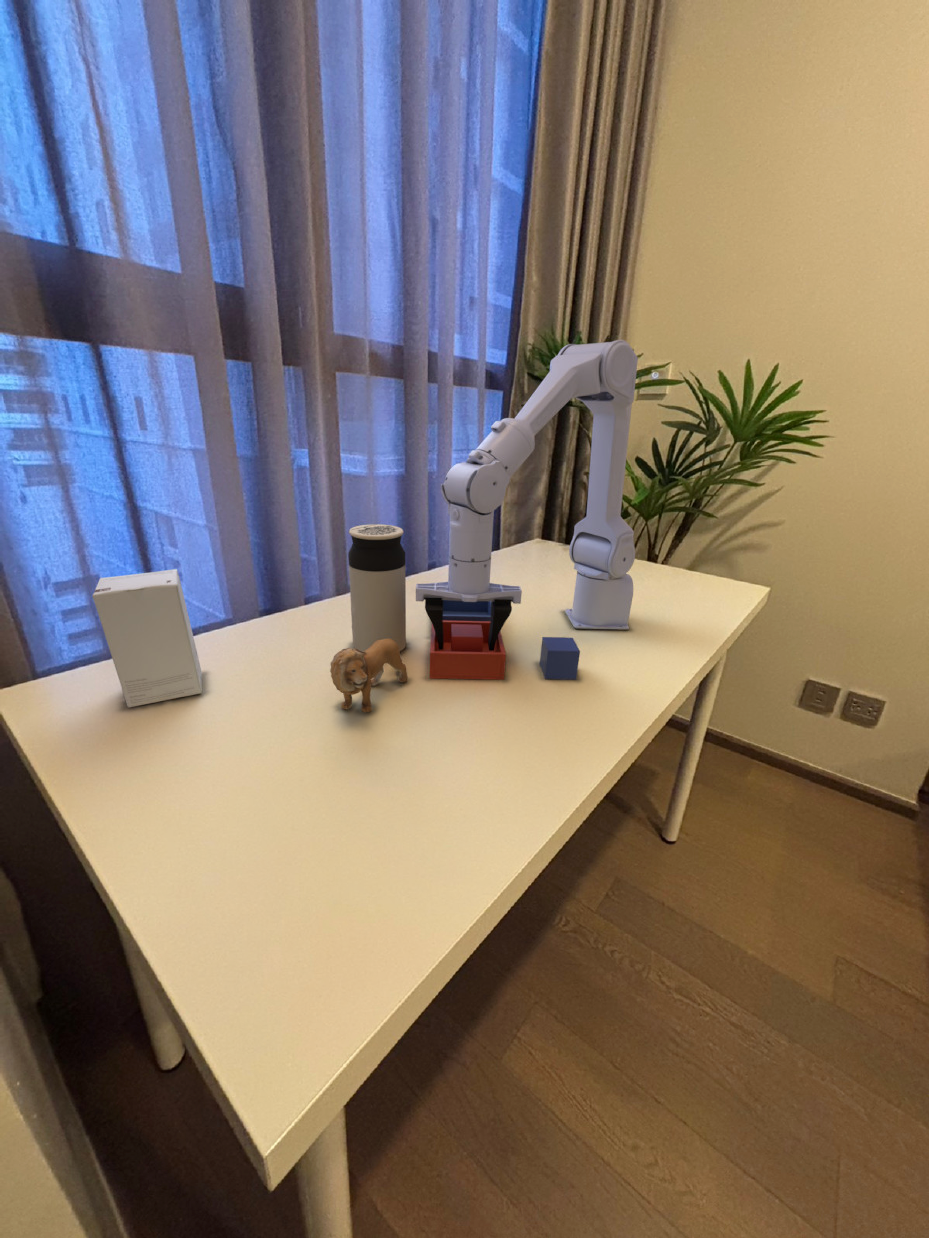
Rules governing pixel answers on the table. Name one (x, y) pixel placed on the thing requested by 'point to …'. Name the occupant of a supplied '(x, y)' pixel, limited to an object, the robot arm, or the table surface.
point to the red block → (466, 638)
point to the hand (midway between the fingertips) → (466, 647)
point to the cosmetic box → (149, 636)
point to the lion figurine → (364, 670)
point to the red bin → (466, 656)
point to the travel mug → (377, 585)
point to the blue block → (559, 658)
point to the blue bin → (466, 610)
